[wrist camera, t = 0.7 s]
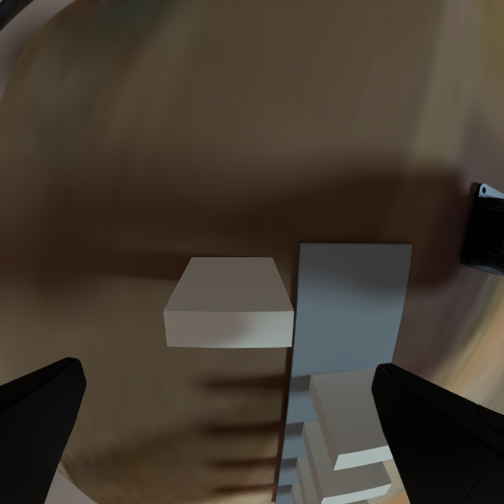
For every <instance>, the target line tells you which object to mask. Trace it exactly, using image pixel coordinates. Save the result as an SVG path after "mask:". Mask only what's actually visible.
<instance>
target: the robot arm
mask: <svg viewBox="0 0 504 504" xmlns="http://www.w3.org/2000/svg"><path fill="white" fill-rule="evenodd" d="M482 188H483V192H482ZM466 257H467V259H466ZM461 263H463V264H465V265H467V266H471V267H474V268H478V269H482V270H485V271H489V272H492V273H495V274H499V275H502V276H504V194H502V193H501V192H499V191H497V190H495V189H493V188H492V187H490V186H488V185H486V184H481V183H480V184H479V185H478V186H477V190H476V196H475V201H474V206H473V210H472V215H471V219H470V224H469V228H468V232H467V236H466V240H465V243H464V247H463V251H462V254H461ZM85 389H86V378H85V375H84V371H83V368H82V364H81V362H80V360H79V359H77V358H71V357H66V358H64V359H62V360H59V361H57V362H55V363H52V364H50V365H48V366H46V367H43V368H41V369H39V370H36V371H34V372H32V373H29V374H27V375H25V376H22V377H20V378H18V379H15V380H13V381H10V382H8V383H6V384H3V385H1V386H0V504H44V503H45V500H46V497H47V494H48V492H49V489H50V485H51V483H52V480H53V478H54V475H55V472H56V469H57V467H58V464H59V462H60V459H61V456H62V454H63V451H64V449H65V446H66V444H67V441H68V439H69V436H70V434H71V432H72V429H73V427H74V424H75V421H76V418H77V414H78V411H79V408H80V405H81V401H82V398H83V395H84V392H85ZM371 392H372V396H373V399H374V403H375V406H376V410H377V413H378V417H379V421H380V424H381V428H382V431H383V434H384V436H385V439H386V441H387V444H388V446H389V449H390V451H391V454H392V456H393V459H394V461H395V464H396V467H397V469H398V472H399V474H400V477H401V480H402V482H403V485H404V488H405V490H406V493H407V496H408V498H409V501H410V504H504V415H502V414H500V413H497V412H495V411H492V410H490V409H488V408H485V407H483V406H481V405H479V404H477V405H476V403H474V402H472V401H470V400H468V399H466V398H463V397H461V396H459V395H457V394H455V393H453V392H450V391H448V390H446V389H444V388H442V387H440V386H438V385H436V384H433V383H431V382H429V381H427V380H425V379H423V378H421V377H419V376H417V375H415V374H413V373H411V372H409V371H407V370H404V369H402V368H400V367H398V366H396V365H394V364H392V363H383V364H379V365H378V366H377V367H376V370H375V374H374V378H373V382H372V386H371Z"/></svg>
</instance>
